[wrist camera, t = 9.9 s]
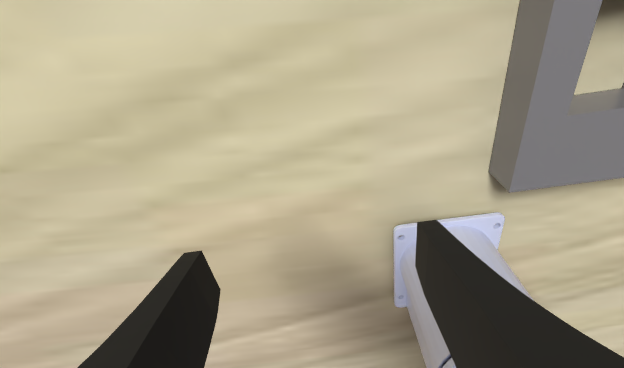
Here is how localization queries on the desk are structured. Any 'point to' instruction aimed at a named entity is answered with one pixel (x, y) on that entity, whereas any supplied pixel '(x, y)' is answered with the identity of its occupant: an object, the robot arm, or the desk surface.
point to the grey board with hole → (555, 104)
